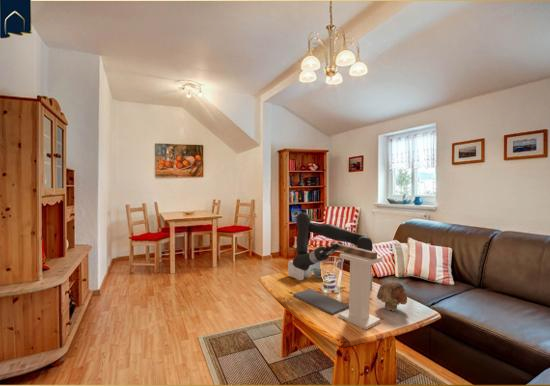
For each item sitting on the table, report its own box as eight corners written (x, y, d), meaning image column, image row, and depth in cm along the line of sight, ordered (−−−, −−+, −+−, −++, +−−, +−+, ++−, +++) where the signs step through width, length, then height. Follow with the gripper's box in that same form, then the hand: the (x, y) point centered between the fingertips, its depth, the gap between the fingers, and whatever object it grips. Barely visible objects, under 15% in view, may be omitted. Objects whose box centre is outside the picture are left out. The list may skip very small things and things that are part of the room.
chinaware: (305, 275, 202) (305, 265, 202) (317, 271, 213) (318, 261, 213) (322, 281, 192) (322, 270, 191) (334, 276, 202) (335, 265, 202)
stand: (338, 316, 142) (339, 253, 140) (352, 310, 149) (354, 250, 148) (366, 329, 129) (367, 261, 128) (380, 322, 137) (382, 257, 135)
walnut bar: (330, 248, 151) (330, 243, 151) (333, 247, 153) (333, 242, 153) (373, 259, 131) (373, 253, 130) (377, 258, 132) (377, 252, 132)
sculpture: (399, 319, 140) (400, 289, 139) (370, 308, 152) (371, 280, 151) (413, 310, 149) (414, 282, 149) (385, 300, 161) (386, 275, 161)
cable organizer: (312, 279, 196) (312, 262, 195) (301, 282, 190) (301, 265, 189) (298, 273, 208) (298, 257, 207) (287, 276, 202) (287, 260, 201)
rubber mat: (293, 295, 167) (293, 294, 167) (309, 290, 176) (309, 288, 176) (332, 314, 143) (332, 312, 143) (349, 307, 152) (349, 305, 152)
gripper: (307, 250, 156) (328, 239, 144) (324, 246, 165) (346, 236, 153) (312, 263, 154) (334, 253, 142) (329, 259, 163) (351, 249, 150)
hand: (340, 244), depth 148 cm, fingers closed on walnut bar, 3 cm apart
